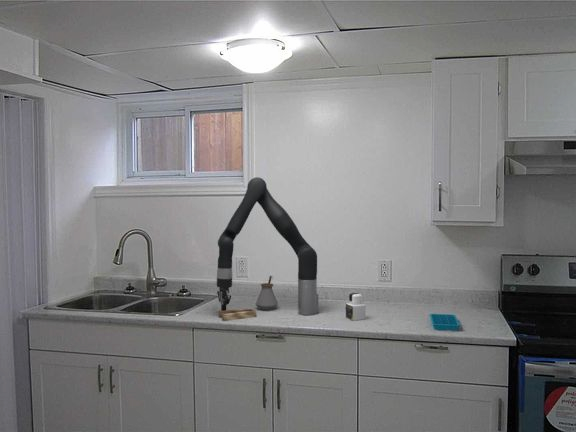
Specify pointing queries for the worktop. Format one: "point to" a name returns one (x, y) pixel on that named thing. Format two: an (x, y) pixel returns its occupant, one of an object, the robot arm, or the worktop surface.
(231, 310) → the tong arm
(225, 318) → the tong base
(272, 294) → the coffee pot
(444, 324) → the ice cube tray
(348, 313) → the medicine bottle
